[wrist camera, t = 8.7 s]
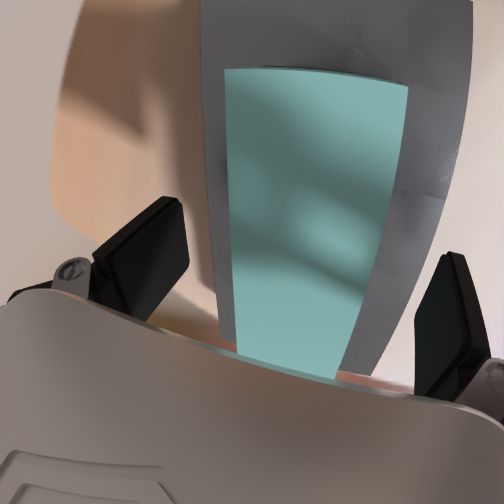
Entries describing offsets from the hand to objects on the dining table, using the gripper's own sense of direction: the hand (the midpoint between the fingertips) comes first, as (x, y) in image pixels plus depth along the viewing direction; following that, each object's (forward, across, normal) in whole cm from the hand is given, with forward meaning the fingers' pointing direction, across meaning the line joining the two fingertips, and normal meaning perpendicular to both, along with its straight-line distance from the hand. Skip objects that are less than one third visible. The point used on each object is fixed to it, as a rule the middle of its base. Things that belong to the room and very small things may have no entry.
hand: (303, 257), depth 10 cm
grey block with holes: (+6, 0, 0) cm, 6 cm away
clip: (+6, 0, 0) cm, 6 cm away
